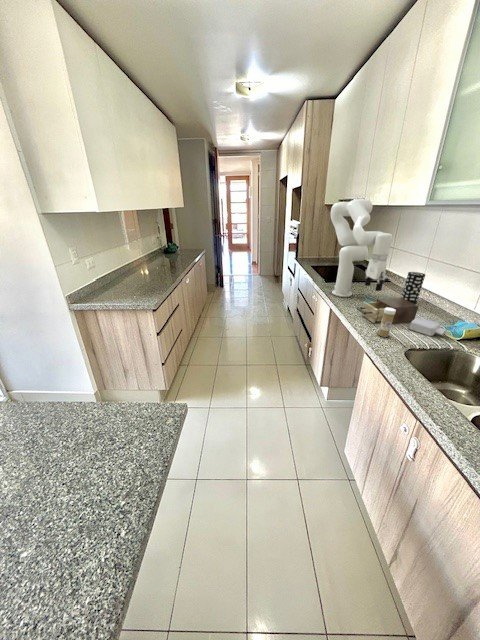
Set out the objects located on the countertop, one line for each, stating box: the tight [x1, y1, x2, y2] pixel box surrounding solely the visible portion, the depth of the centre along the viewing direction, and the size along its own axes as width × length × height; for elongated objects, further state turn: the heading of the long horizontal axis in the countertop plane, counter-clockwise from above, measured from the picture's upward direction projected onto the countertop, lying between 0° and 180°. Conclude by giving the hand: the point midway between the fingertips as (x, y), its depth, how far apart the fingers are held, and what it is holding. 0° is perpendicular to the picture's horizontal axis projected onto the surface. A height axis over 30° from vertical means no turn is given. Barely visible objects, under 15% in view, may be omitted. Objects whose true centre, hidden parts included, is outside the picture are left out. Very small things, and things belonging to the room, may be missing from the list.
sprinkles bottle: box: [377, 307, 396, 338], centre depth 119 cm, size 5×5×14 cm
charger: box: [409, 316, 451, 337], centre depth 124 cm, size 5×9×15 cm
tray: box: [356, 301, 390, 324], centre depth 136 cm, size 18×11×7 cm, turn 99°
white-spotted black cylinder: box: [400, 271, 426, 305], centre depth 151 cm, size 8×8×20 cm
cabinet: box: [376, 297, 419, 325], centre depth 138 cm, size 15×13×9 cm
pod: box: [363, 298, 375, 303], centre depth 151 cm, size 4×4×5 cm
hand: (372, 287), depth 146 cm, fingers open, 9 cm apart
